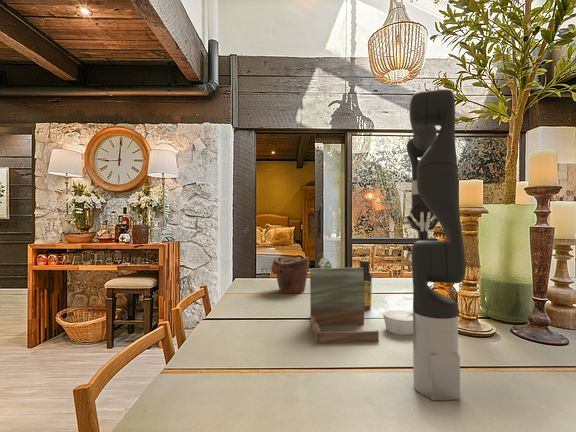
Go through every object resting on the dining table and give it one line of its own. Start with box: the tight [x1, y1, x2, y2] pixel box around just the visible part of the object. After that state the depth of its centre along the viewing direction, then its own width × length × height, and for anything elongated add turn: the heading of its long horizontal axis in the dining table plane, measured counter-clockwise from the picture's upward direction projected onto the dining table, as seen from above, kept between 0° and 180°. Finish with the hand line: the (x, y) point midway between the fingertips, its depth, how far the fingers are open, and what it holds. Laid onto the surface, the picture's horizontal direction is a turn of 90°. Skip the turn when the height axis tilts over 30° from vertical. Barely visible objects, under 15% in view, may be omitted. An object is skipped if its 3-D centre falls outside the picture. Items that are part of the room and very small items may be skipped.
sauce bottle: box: [359, 259, 373, 311], centre depth 139 cm, size 6×6×20 cm
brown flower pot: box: [270, 256, 311, 294], centre depth 171 cm, size 18×20×18 cm
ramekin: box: [382, 310, 413, 336], centre depth 112 cm, size 11×11×5 cm
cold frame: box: [309, 267, 380, 344], centre depth 111 cm, size 17×19×20 cm
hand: (423, 241), depth 120 cm, fingers closed
